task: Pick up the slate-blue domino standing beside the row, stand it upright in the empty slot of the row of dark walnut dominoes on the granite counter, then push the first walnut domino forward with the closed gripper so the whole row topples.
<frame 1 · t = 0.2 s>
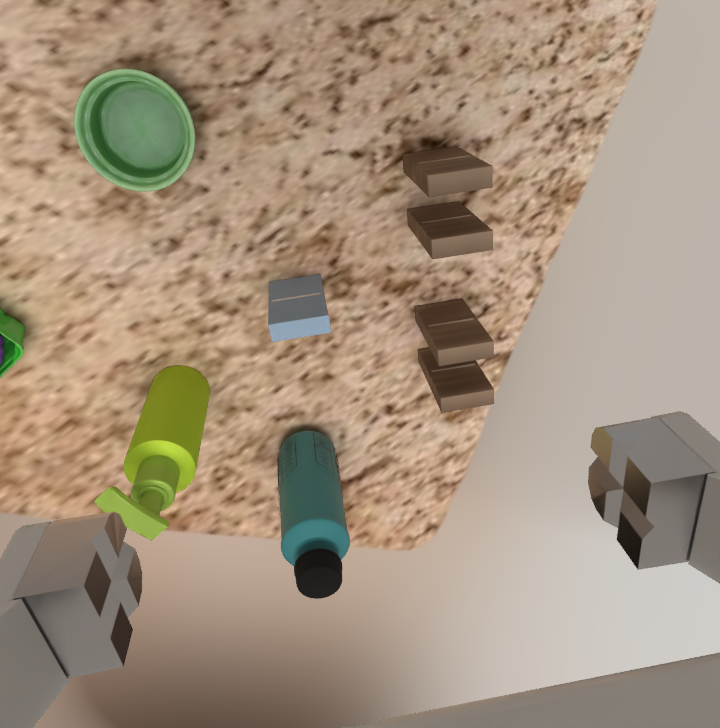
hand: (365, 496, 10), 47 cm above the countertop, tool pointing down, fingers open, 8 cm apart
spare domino: (296, 285, 58), on the countertop
ramekin: (146, 125, 50), on the countertop
domino 4: (438, 309, 61), on the countertop
soap dispenser: (177, 386, 62), on the countertop
domino 1: (430, 159, 54), on the countertop
beverage bottle: (306, 443, 67), on the countertop
domino 2: (433, 213, 57), on the countertop
domino 5: (441, 351, 64), on the countertop
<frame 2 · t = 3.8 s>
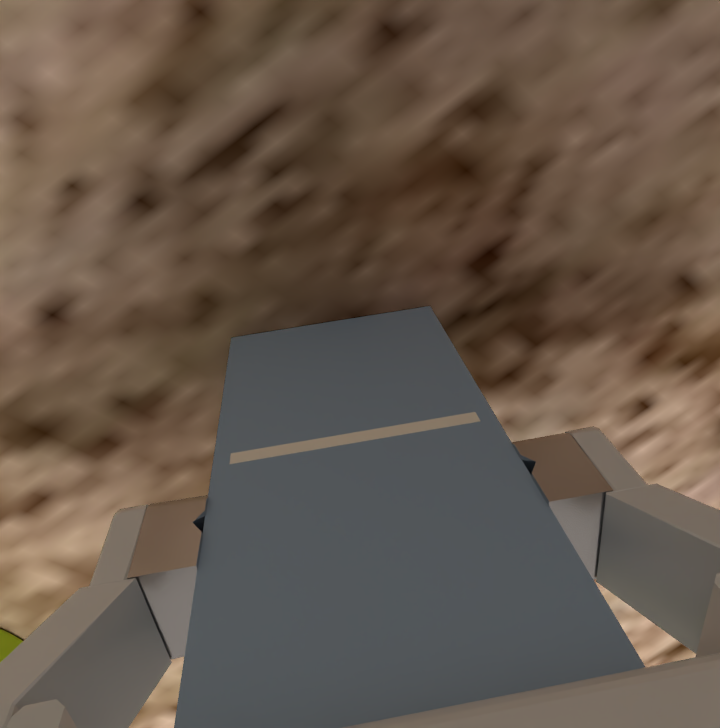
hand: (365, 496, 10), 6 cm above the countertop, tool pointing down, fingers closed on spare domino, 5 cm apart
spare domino: (335, 349, 15), on the countertop, touching gripper
when the fingers open (6 cm above the countertop, at t = 9.3 s): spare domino stays where it is, on the countertop.
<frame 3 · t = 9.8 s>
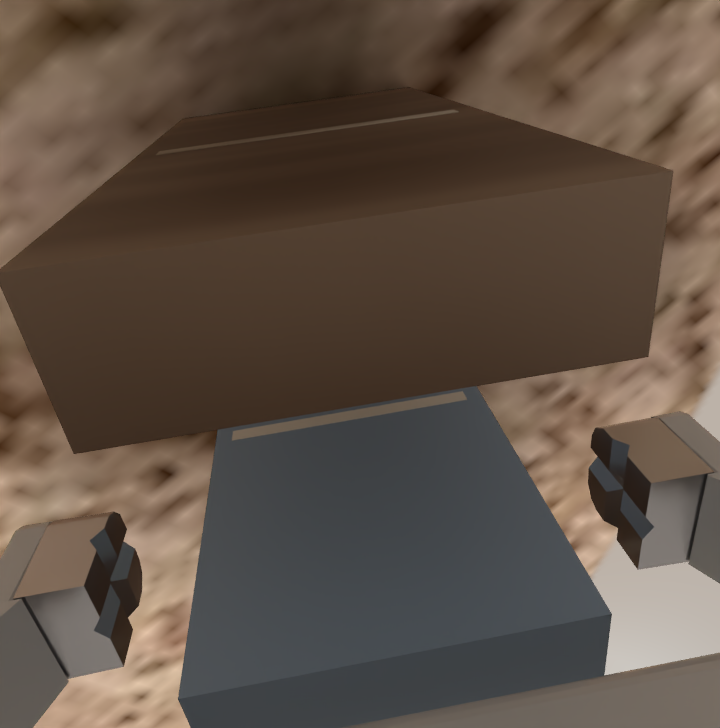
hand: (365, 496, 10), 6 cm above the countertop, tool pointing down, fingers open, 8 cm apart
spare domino: (332, 338, 16), on the countertop
domino 2: (303, 141, 13), on the countertop
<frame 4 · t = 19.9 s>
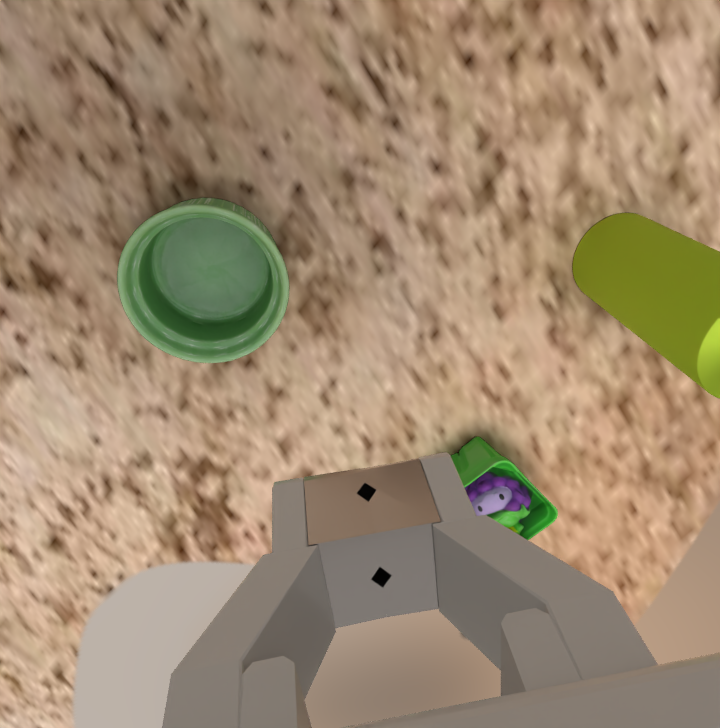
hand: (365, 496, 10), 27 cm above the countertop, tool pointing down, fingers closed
ramekin: (212, 262, 36), on the countertop
soap dispenser: (607, 262, 39), on the countertop
fruit basket: (454, 489, 47), on the countertop
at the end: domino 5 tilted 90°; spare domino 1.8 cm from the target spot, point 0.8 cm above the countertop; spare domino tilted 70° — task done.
